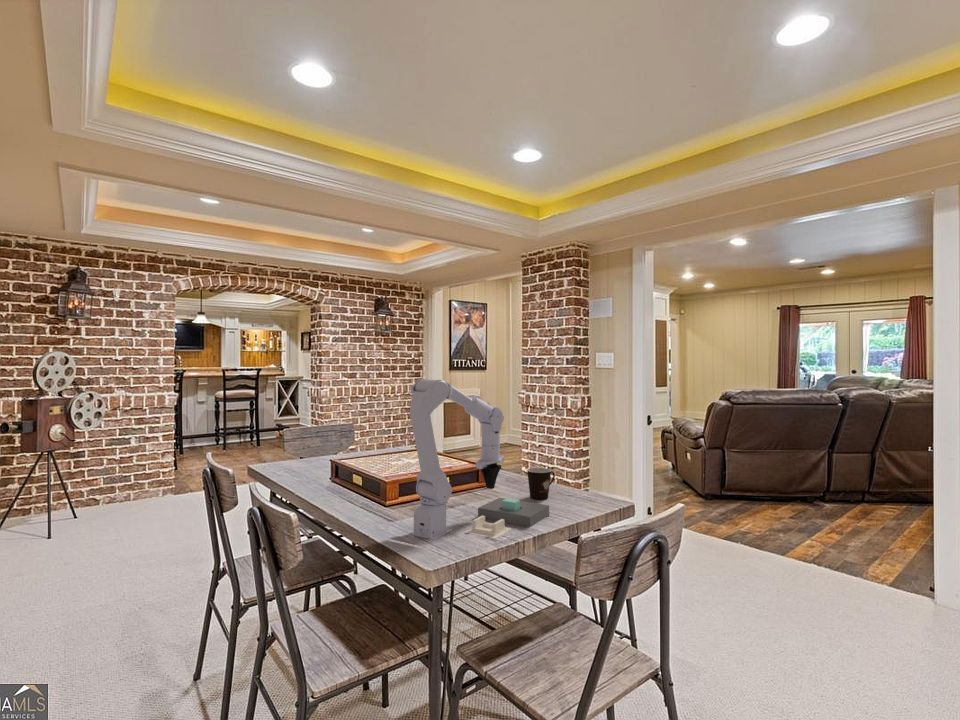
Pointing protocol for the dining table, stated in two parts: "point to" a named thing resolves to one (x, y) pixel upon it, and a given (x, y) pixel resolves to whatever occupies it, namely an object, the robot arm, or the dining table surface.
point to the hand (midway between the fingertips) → (490, 488)
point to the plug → (511, 504)
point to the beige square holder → (488, 528)
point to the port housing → (515, 513)
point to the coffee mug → (539, 482)
